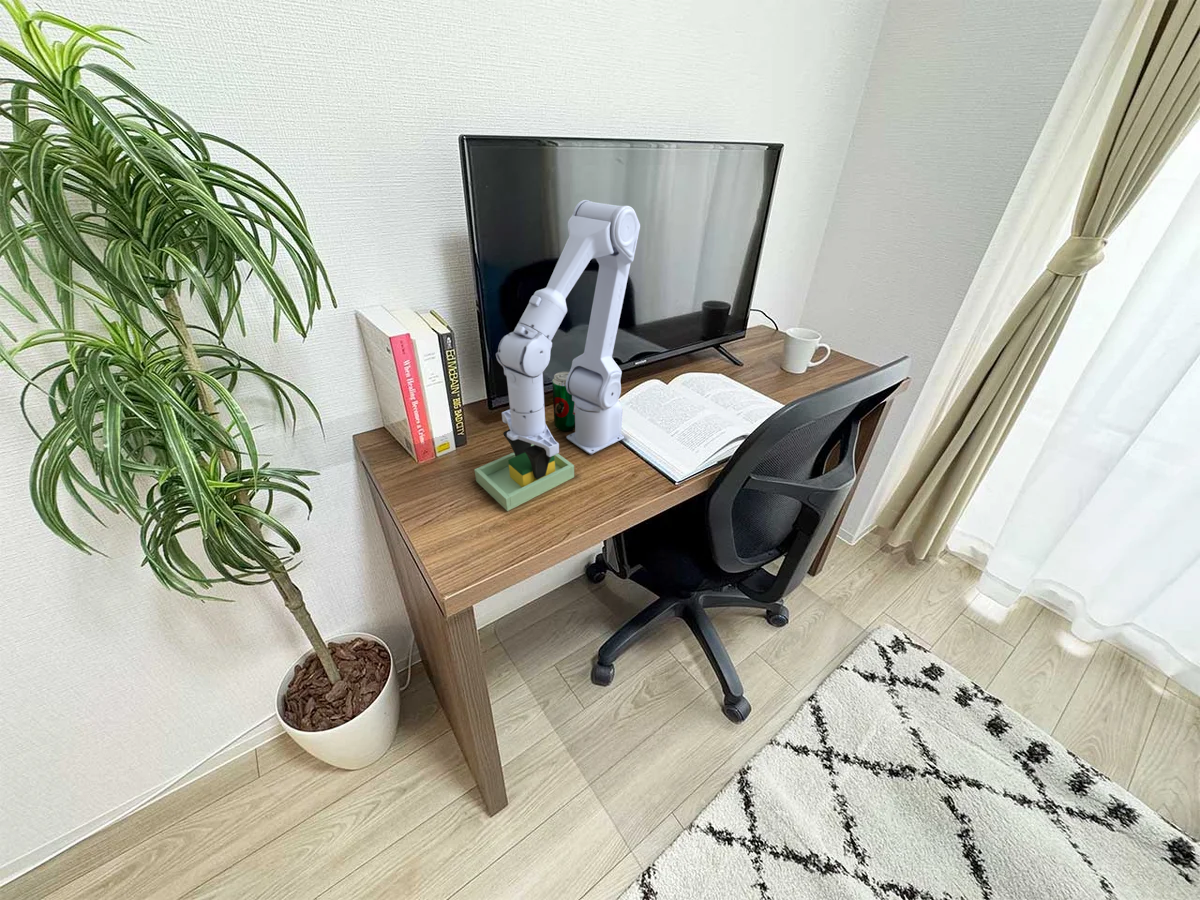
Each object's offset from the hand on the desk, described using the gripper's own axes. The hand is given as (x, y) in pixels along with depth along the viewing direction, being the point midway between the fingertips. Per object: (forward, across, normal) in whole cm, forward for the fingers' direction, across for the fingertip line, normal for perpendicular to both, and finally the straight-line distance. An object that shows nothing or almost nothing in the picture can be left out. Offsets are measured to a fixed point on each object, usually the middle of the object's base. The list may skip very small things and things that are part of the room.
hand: (532, 469), depth 86 cm
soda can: (+2, -11, +16) cm, 19 cm away
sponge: (+1, 0, 0) cm, 1 cm away
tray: (+2, -1, -1) cm, 2 cm away
